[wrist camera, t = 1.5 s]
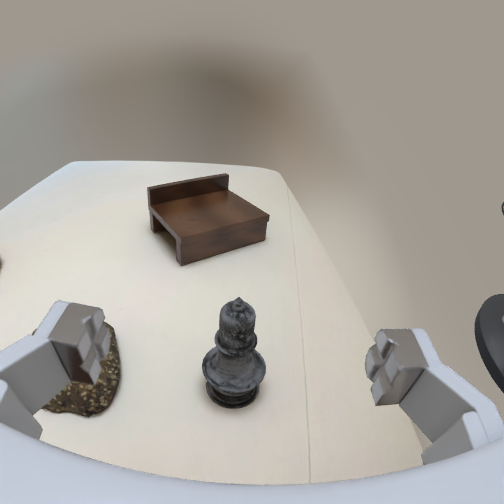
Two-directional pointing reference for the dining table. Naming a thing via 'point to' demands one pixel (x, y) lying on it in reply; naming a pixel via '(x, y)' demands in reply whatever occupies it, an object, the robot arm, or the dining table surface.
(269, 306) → the dining table surface
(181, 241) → the shelf
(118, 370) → the bread roll
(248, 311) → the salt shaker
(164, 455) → the dining table surface
